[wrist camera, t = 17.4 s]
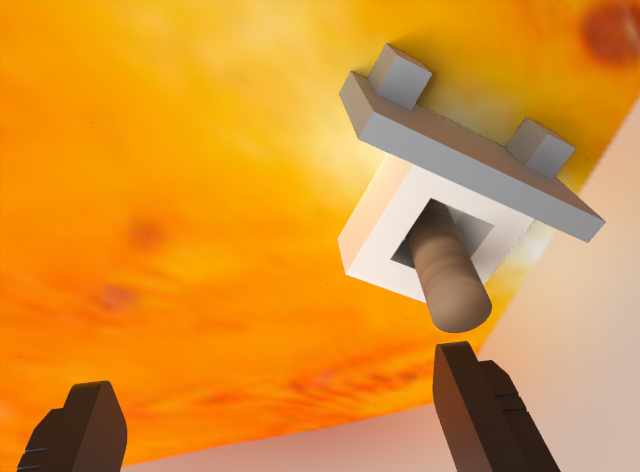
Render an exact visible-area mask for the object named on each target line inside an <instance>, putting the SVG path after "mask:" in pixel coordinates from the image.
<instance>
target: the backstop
mask: <svg viewBox="0 0 640 472" xmlns="http://www.w3.org/2000/svg"><path fill="white" fill-rule="evenodd" d="M431 75H432V73H431V72H430V71H429V70H428V69H427V68H426V67H425V66H424V65H423V64H422V63H421V62H419V61H418V60H416V59H414V58H413V57H411V56H409V55H407V54H405V53H403V52H401V51H399V50H397V49H395V48H394V47H392V46H390V45H388V44H386V45H385V46H384V48H383V50H382V52H381V54H380V56H379V58H378V60H377V62H376V64H375V65H374V67H373V69H372V71H371V73H370V75H369V77H368V79H366V78H364V77H362V76H360V75H358V74H356V73H354V72H352V71H351V72H350V74H349V75H348V77H347V79H346V81H345V83H344V85H343V87H342V89H341V91H340V93H339V95H340V97H341V100H342V102H343V104H344V107H345V109H346V111H347V114H348V116H349V118H350V121H351V123H352V125H353V128H354V130H355V132H356V135H357V137H358V139H359V140H361V141H363V142H366V143H368V144H370V145H372V146H374V147H377V148H379V149H381V150H383V151H386V152H388V153H390V154H392V155H394V156H397V157H399V158H401V159H403V160H405V161H408V162H410V163H412V164H414V165H417V166H419V167H421V168H423V169H425V170H428V171H430V172H432V173H434V174H436V175H439V176H441V177H443V178H445V179H448V180H450V181H452V182H454V183H456V184H459V185H461V186H463V187H465V188H467V189H470V190H472V191H474V192H476V193H479V194H481V195H483V196H485V197H487V198H490V199H492V200H494V201H496V202H498V203H501V204H503V205H505V206H507V207H510V208H512V209H514V210H516V211H518V212H521V213H523V214H525V215H527V216H529V217H532V218H534V219H536V220H538V221H541V222H543V223H545V224H547V225H549V226H552V227H554V228H556V229H558V230H560V231H563V232H565V233H567V234H569V235H572V236H574V237H576V238H578V239H581V240H583V241H585V242H587V243H588V242H589V241H590V240H591V239H592V238H593V237H594V235H595V234H596V233H597V232H598V231H599V230H600V228H601V227H602V226H603V225H604V224H605V223H606V222H605V221H604V220H603V219H602V218H601V217H600V216H599V215H598V214H597V213H596V212H594V211H593V210H592V209H591V208H590V207H589V206H588V205H587V204H585V203H584V202H583V201H582V200H581V199H580V198H579V197H578V196H576V195H575V194H574V193H573V192H572V191H571V190H570V189H569V188H567V187H566V186H565V185H564V184H563V183H562V182H561V181H560V180H558V179H557V178H556V177H555V176H556V174H557V173H558V172H559V171H560V169H561V168H562V167H563V165H564V164H565V163H566V161H567V160H568V159H569V157H570V156H571V155H572V154H573V152H574V151H575V150H576V148H575V147H573V146H572V145H571V144H569V143H568V142H567V141H565V140H564V139H563V138H561V137H560V136H559V135H557V134H556V133H555V132H553V131H551V130H550V129H548V128H546V127H544V126H542V125H540V124H538V123H536V122H534V121H532V120H531V119H529V118H527V117H526V118H525V120H524V121H523V122H522V124H521V125H520V127H519V128H518V130H517V131H516V133H515V134H514V135H513V137H512V138H511V140H510V141H509V143H508V144H507V145H506V147H503V146H501V145H499V144H497V143H495V142H493V141H491V140H489V139H487V138H485V137H483V136H481V135H479V134H477V133H475V132H473V131H471V130H469V129H467V128H465V127H463V126H461V125H459V124H457V123H455V122H453V121H451V120H449V119H447V118H445V117H443V116H441V115H439V114H437V113H435V112H433V111H430V110H428V109H426V108H424V107H422V106H420V105H418V104H416V101H417V99H418V98H419V96H420V94H421V93H422V91H423V89H424V87H425V86H426V84H427V82H428V81H429V79H430V77H431Z"/></svg>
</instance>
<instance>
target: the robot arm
mask: <svg viewBox="0 0 640 472" xmlns="http://www.w3.org/2000/svg"><path fill="white" fill-rule="evenodd" d="M433 398H434V404H435V408H436V412H437V414H438V417H439V420H440V423H441V426H442V429H443V432H444V435H445V437H446V440H447V443H448V446H449V449H450V451H451V454H452V457H453V460H454V463H455V466H456V469H457V472H561V471H560V469H559V468H558V466H557V464H556V462H555V460H554V459H553V457H552V455H551V453H550V451H549V449H548V447H547V446H546V444H545V442H544V440H543V438H542V436H541V434H540V433H539V431H538V429H537V427H536V425H535V423H534V421H533V420H532V418H531V416H530V414H529V412H527V410H526V406H525V405H524V403H523V401H522V399H521V397H519V395H518V391H517V390H516V388H515V386H514V384H513V382H512V380H511V378H510V377H509V375H508V374H507V373H506V372H505V371H504V370H503V369H501V368H500V367H499V366H498V365H497V364H496V363H495V362H493V361H492V360H488V361H479V362H478V360H477V358H476V356H475V354H474V352H473V350H472V348H471V346H470V344H469V343H468V342H467V341H463V342H454V343H445V344H437V345H436V349H435V361H434V374H433ZM126 445H127V425H126V421H125V418H124V416H123V413H122V411H121V408H120V406H119V403H118V400H117V398H116V395H115V393H114V390H113V388H112V385H111V383H110V382H109V381H98V382H89V383H81V384H75V385H74V386H73V387H72V388H71V390H70V392H69V394H68V397H67V399H66V402H65V404H64V407H63V408H59V409H52V410H51V411H50V412H49V413H48V414H47V415H46V416H45V417H44V419H43V420H42V421H41V422H40V423H39V424H38V425H37V426H36V428H35V429H34V431H33V433H32V435H31V438H30V440H29V442H28V444H27V447H26V449H25V454H23V456H22V458H21V460H20V462H19V464H18V467H17V468H18V470H17V472H120V469H121V465H122V461H123V458H124V454H125V450H126Z"/></svg>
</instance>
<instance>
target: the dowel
mask: <svg viewBox="0 0 640 472" xmlns="http://www.w3.org/2000/svg"><path fill="white" fill-rule="evenodd" d="M405 238H406V241H407V244H408V247H409V250H410V253H411V257H412V260H413V263H414V266H415V269H416V272H417V275H418V278H419V281H420V284H421V287H422V290H423V293H424V296H425V299H426V302H427V306H428V309H429V312H430V315H431V318H432V321H433V323H434V325H435V326H436V327H437V328H438V329H440V330H442V331H444V332H448V333H461V332H466V331H469V330H472V329H474V328H476V327H478V326H479V325H481V324H482V323H483V322H484V321H486V319H487V318H488V317H489V315H490V313H491V310H492V304H491V301H490V299H489V297H488V295H487V292H486V290H485V288H484V286H483V284H482V282H481V279H480V277H479V275H478V273H477V271H476V269H475V267H474V264H473V262H472V260H471V258H470V256H469V254H468V251H467V249H466V247H465V245H464V243H463V241H462V239H461V236H460V234H459V232H458V230H457V228H456V226H455V223H454V221H453V219H452V217H451V215H450V213H449V210H448V208H447V206H446V205H445V204H444V203H442V202H439V201H437V200H435V199H432V198H430V200H429V201H428V203H427V204H426V206H425V207H424V209H423V210H422V212H421V213H420V215H419V217H418V218H417V220H416V221H415V223H414V224H413V226H412V227H411V229H410V230H409V232H408V233H407V235H406V236H405Z"/></svg>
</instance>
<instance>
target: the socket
mask: <svg viewBox="0 0 640 472" xmlns="http://www.w3.org/2000/svg"><path fill="white" fill-rule="evenodd" d="M430 198H432V199H435V200H437V201H439V202H442V203H444V204H445V205H446V206H447V208H448V210H449V213H450V215H451V217H452V219H453V221H454V223H455V226H456V228H457V230H458V232H459V234H460V236H461V239H462V241H463V243H464V245H465V247H466V249H467V251H468V254H469V256H470V258H471V260H472V262H473V264H474V267H475V269H476V271H477V273H478V275H479V277H480V279H481V282H482V284H483V285H484V284H485V282H486V281H487V280H488V278H489V277H490V276H491V275H492V273H493V272H494V271H495V269H496V268H497V267H498V266H499V264H500V263H501V262H502V261H503V259H504V258H505V257H506V255H507V254H508V253H509V252H510V250H511V249H512V248H513V246H514V245H515V244H516V243H517V241H518V240H519V239H520V238H521V236H522V235H523V234H524V232H525V231H526V230H527V229H528V227H529V226H530V225H531V223H532V222H533V221H534V220H535V219H534V218H532V217H529V216H527V215H525V214H523V213H521V212H518V211H516V210H514V209H512V208H510V207H507V206H505V205H503V204H501V203H498V202H496V201H494V200H492V199H490V198H487V197H485V196H483V195H481V194H479V193H476V192H474V191H472V190H470V189H467V188H465V187H463V186H461V185H459V184H456V183H454V182H452V181H450V180H448V179H445V178H443V177H441V176H439V175H436V174H434V173H432V172H430V171H428V170H425V169H423V168H421V167H419V166H417V165H414V164H412V163H410V162H408V161H405V160H403V159H401V158H399V157H397V156H394V155H392V154H390V153H387V155H386V157H385V159H384V160H383V162H382V164H381V165H380V167H379V169H378V170H377V172H376V174H375V176H374V177H373V179H372V181H371V182H370V184H369V186H368V188H367V189H366V191H365V193H364V194H363V196H362V198H361V199H360V201H359V203H358V205H357V206H356V208H355V210H354V211H353V213H352V215H351V217H350V218H349V220H348V222H347V223H346V225H345V227H344V229H343V230H342V232H341V234H340V235H339V237H338V244H339V248H340V252H341V257H342V261H343V266H344V270H345V274H346V275H349V276H352V277H355V278H357V279H360V280H363V281H366V282H369V283H371V284H374V285H377V286H380V287H383V288H385V289H388V290H391V291H394V292H397V293H399V294H402V295H405V296H408V297H411V298H413V299H416V300H419V301H422V302H424V303H427V302H426V299H425V296H424V293H423V290H422V287H421V284H420V281H419V278H418V275H417V272H416V269H415V266H414V263H413V260H412V257H411V253H410V250H409V247H408V244H407V241H406V238H405V236H406V235H407V233H408V232H409V230H410V229H411V227H412V226H413V224H414V223H415V221H416V220H417V218H418V217H419V215H420V213H421V212H422V210H423V209H424V207H425V206H426V204H427V203H428V201H429V200H430Z"/></svg>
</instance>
